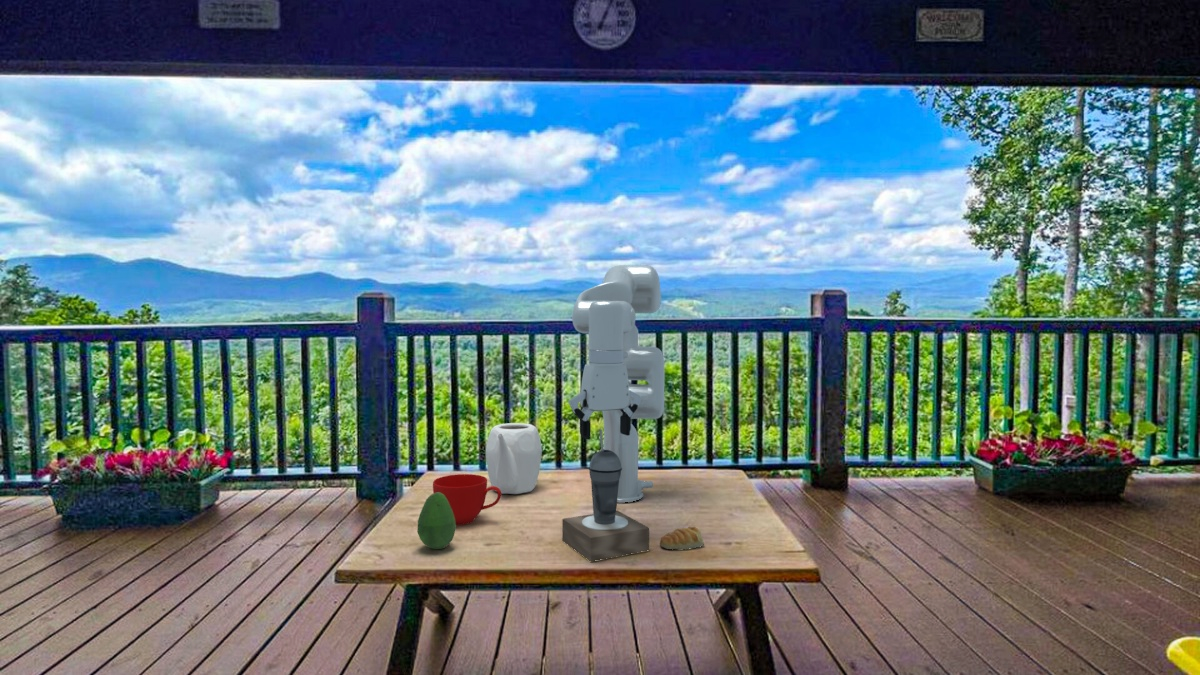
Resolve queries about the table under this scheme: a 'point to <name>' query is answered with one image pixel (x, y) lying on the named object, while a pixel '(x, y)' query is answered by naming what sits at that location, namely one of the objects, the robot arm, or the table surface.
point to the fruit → (436, 522)
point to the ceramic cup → (465, 495)
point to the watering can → (513, 457)
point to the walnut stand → (605, 536)
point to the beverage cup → (604, 484)
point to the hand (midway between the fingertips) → (605, 436)
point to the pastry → (682, 539)
